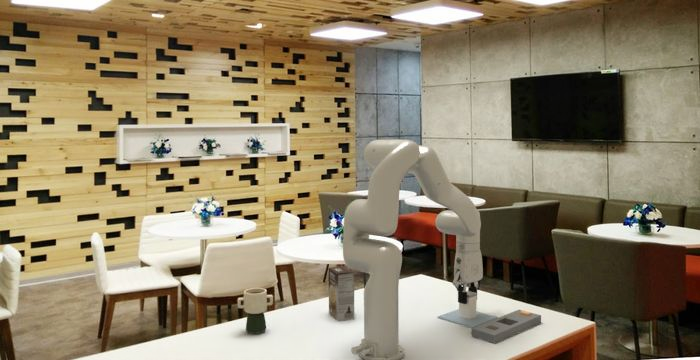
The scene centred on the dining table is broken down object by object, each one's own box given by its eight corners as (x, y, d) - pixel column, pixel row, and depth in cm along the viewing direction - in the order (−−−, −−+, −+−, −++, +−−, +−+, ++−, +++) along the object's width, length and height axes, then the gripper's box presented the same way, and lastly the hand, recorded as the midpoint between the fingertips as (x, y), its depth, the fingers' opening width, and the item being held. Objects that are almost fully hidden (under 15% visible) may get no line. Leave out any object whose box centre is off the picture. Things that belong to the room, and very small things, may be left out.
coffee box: (328, 313, 189) (327, 267, 188) (345, 311, 192) (345, 265, 190) (337, 321, 181) (336, 273, 179) (355, 319, 183) (355, 271, 182)
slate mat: (472, 328, 173) (472, 327, 173) (437, 317, 183) (437, 316, 183) (497, 318, 182) (497, 316, 182) (463, 308, 193) (463, 307, 193)
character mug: (271, 326, 177) (270, 286, 176) (275, 333, 170) (274, 292, 169) (237, 330, 174) (235, 289, 173) (239, 337, 167) (238, 295, 166)
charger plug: (468, 319, 180) (469, 295, 179) (458, 316, 183) (459, 292, 182) (476, 316, 183) (476, 292, 182) (466, 313, 186) (466, 290, 185)
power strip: (494, 343, 160) (494, 333, 160) (471, 336, 166) (471, 326, 166) (541, 322, 177) (541, 313, 177) (518, 316, 183) (518, 307, 183)
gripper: (461, 252, 173) (460, 309, 174) (492, 244, 184) (492, 298, 185) (442, 248, 178) (442, 304, 180) (473, 241, 189) (473, 294, 191)
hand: (467, 300), depth 182 cm, fingers open, 4 cm apart
